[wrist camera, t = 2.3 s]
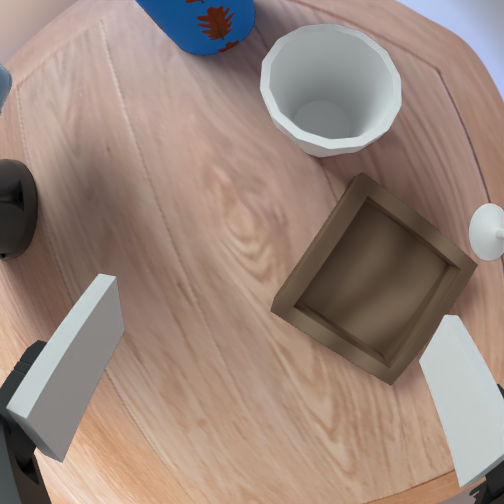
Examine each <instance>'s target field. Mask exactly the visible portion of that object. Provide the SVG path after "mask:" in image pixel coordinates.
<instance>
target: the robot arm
mask: <svg viewBox="0 0 504 504" xmlns="http://www.w3.org/2000/svg"><path fill="white" fill-rule="evenodd" d="M11 87H12V76H11V74H10V73H9V71H8V70H7V69H6V68H5V67H3V66H2V65H1V64H0V115H1V109H2V107H3V105H4V102H5V100H6V98H7V96H8V94H9V92H10V90H11ZM36 217H37V196H36V189H35V185H34V181H33V178H32V176H31V174H30V172H29V170H28V169H27V167H26V166H25V165H24V164H23V163H21V162H20V161H17V160H10V159H1V160H0V260H5V259H10V258H15V257H17V256H19V255H21V254H22V253H23V252H24V251H25V250H26V248H27V247H28V245H29V243H30V241H31V239H32V236H33V233H34V229H35V224H36ZM124 331H125V327H124V322H123V316H122V311H121V305H120V298H119V292H118V285H117V278H116V276H110V275H105V274H98V276H97V277H96V278H95V279H94V281H93V282H92V283H91V284H90V286H89V287H88V288H87V290H86V291H85V292H84V293H83V295H82V296H81V297H80V299H79V300H78V301H77V303H76V304H75V305H74V307H73V308H72V309H71V311H70V312H69V313H68V315H67V316H66V317H65V319H64V320H63V322H62V323H61V324H60V326H59V327H58V328H57V330H56V331H55V333H54V334H53V336H52V337H51V338H50V340H49V341H48V343H46V342H43V341H40V340H38V341H37V342H35V343H34V344H33V345H31V346H30V347H28V348H27V350H26V351H25V352H24V354H23V355H22V357H21V358H20V361H18V362H17V364H16V365H15V367H14V370H12V371H11V373H10V374H9V376H8V377H7V379H6V380H5V382H4V383H3V385H2V387H1V388H0V504H52V503H51V501H50V498H49V495H48V493H47V490H46V487H45V484H44V481H43V478H42V475H41V472H40V469H39V466H38V463H37V459H36V457H35V455H34V451H35V448H36V447H37V448H38V449H39V450H40V451H41V452H42V453H43V454H44V455H46V456H48V457H50V458H53V459H55V460H57V461H59V462H62V463H63V460H64V458H65V456H66V453H67V451H68V448H69V446H70V444H71V441H72V439H73V437H74V434H75V432H76V430H77V428H78V425H79V423H80V421H81V419H82V417H83V414H84V412H85V410H86V408H87V406H88V403H89V401H90V399H91V397H92V395H93V393H94V391H95V389H96V387H97V385H98V382H99V380H100V378H101V376H102V374H103V372H104V370H105V368H106V366H107V364H108V362H109V360H110V358H111V356H112V354H113V352H114V350H115V348H116V346H117V345H118V343H119V341H120V339H121V337H122V335H123V333H124ZM419 363H420V365H421V368H422V370H423V373H424V376H425V378H426V381H427V383H428V386H429V389H430V392H431V394H432V397H433V400H434V403H435V406H436V408H437V411H438V414H439V417H440V420H441V423H442V426H443V429H444V433H445V436H446V439H447V442H448V446H449V449H450V452H451V456H452V459H453V463H454V466H455V470H456V474H457V478H458V481H459V485H460V487H463V486H467V485H470V484H473V483H475V482H477V481H478V480H480V479H481V478H482V477H484V476H486V481H484V482H483V483H482V484H480V485H479V486H477V487H476V488H474V489H473V490H472V491H471V492H470V494H469V495H473V494H474V493H476V492H477V491H479V493H477V494H476V495H475V496H474V498H476V501H475V503H474V504H504V389H503V388H502V387H501V386H500V385H499V384H496V382H495V380H494V378H493V376H492V375H491V373H490V371H489V369H488V367H487V365H486V363H485V361H484V359H483V358H482V356H481V354H480V352H479V350H478V349H477V347H476V345H475V343H474V342H473V340H472V338H471V336H470V335H469V333H468V331H467V330H466V328H465V326H464V325H463V323H462V321H461V320H460V318H459V316H457V315H444V317H443V319H442V321H441V323H440V325H439V327H438V328H437V330H436V332H435V334H434V336H433V338H432V339H431V341H430V343H429V345H428V346H427V348H426V350H425V352H424V353H423V355H422V357H421V358H420V360H419Z"/></svg>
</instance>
